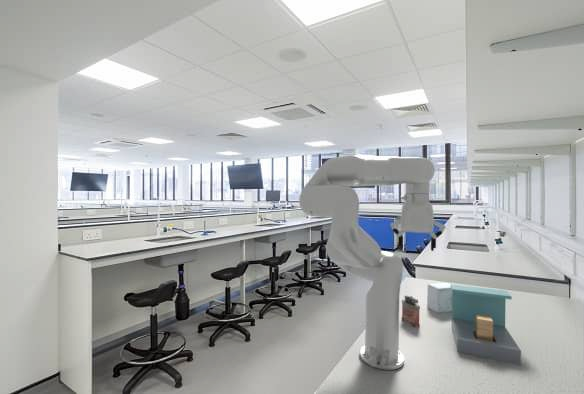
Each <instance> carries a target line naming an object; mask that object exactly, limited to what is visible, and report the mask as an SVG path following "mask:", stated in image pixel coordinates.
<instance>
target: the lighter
mask: <svg viewBox="0 0 584 394" xmlns="http://www.w3.org/2000/svg"><path fill="white" fill-rule="evenodd" d="M401 304H402V305H401V321H402V322H404V323H405V324H407V325H409V326H411V327H413V328H420V327H421V323H420V309H421V306H420V305H419V300H418V299H416V298H414V297H413V295H412V296H411V295H410V296H409V295H406V294H405V295H404V299H402V300H401Z"/></svg>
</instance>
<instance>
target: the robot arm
mask: <svg viewBox="0 0 584 394" xmlns="http://www.w3.org/2000/svg"><path fill="white" fill-rule="evenodd" d="M435 170H436V169H435V165H434V163H433V162H432V160H430V159H428V158H426V157H416V156H415V157H414V156H413V157H411V156H410V157H409V156H405V157H404V156H379V155H377V156H376V155H365V154H363V155H362V154H350V155H343V156H338V157H337V156H336V157H331V158H328V159H327V160H326V161H324V163H322V164H321V165H320V166H319V168H318V169H317V170H316V172H315V173H314V174H313V176H311V178H310V179H309V180H308V181H307V183H306V184H305V185H304V187H303V188H302V190H301V192H300V195H299V200H298V202H299V207H300V209H301V210H302V212H303V213H304V214H306V215H308V216H311V217H318V218H330V219H331V226H330V231H329V237H328V239H327V242H326V246H325V247H326V253H327V256H328V258H329V260H331V262H332V263H333V264H335V265H336V266H338V267H339V268H340V269H342V270H343V271H345V272H346V273H347V274H349V275H351V276H353V277H355V278H359V279H361V280H362V279H363V280H366V281H369V282H372V285H371V287H370V288H369V290H367V292H366V294H365V295H366V296H365V320H364V321H365V324H364V326H365V327H364V328H365V329H364V330H365V331H364V332H365V334H364V338H365V339H364V345H363V346H361V348H360V349H359V357H360V359H361V360H362V361H363V362H364V363H365V364H367V365H369V366H370V367H373V368H375V369H379V370H386V371H391V370H397V369H399V368H401V367H403V366H404V364H405V357H404V356H405V355H404V354H403V353H402V352H401V351H400V349H399V348H400V347H399V346H400V345H399V344H400V343H399V342H400V341H399V340H400V335H399V334H400V294H401V293H400V292H401V284H402V279H403V276H404V263H403V261H402V259H401V258H400V256H398V255H397V254H395V253H393V252H389V251H387V250H386V251H384V250H382V249H381V247H380V245H379V244H378V243H377V241H376V240H375V239H374V238H373V237H372V236H371V235H370V234H369V233H368V232H366V231H365V230H364V229H363V228H362V227H361V226H360V225H359V213H360V199H359V196H358V194H357V192H356V190H355V189H353V187H373V186H374V187H376V186H378V187H379V186H380V187H381V186H395V185H402V184H405V194H403V195H401V196H400V200H404V201H405V202H403V203H402V207H401V213H400V219H397V220H396V221H393V222H390V223H389V226H390V227H391V230H392V231H393V232H394V233H395V235H396V236H397V237H398V238H397V239H398V240H397V242H398V243H397V244H398V245H397V246H399V249H403V248H404V234H405V233H417V234H429V235H430V236H431V238H430V251H432V252H434V250H435V249H436V248H437V238H439V237H440V236H441V235H442V234H443V233H444V231H445V229H446V225H444V224H442V223H441V222H438V221H436V220H434V209H433V204H432V203H430V185H431V183H430V181H431V180H432V179H433V178H434V175H435ZM399 224H400V231H399V229H397V225H399ZM434 226H435V227H438V228H439V229H438V231H436V233H435V232H434Z"/></svg>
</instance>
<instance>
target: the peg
mask: <svg viewBox="0 0 584 394" xmlns="http://www.w3.org/2000/svg"><path fill="white" fill-rule="evenodd" d="M476 339H481V340H487V341H492V342H493V320H492V318H491V316H485V315H478V314H476Z"/></svg>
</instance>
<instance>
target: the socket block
mask: <svg viewBox="0 0 584 394" xmlns="http://www.w3.org/2000/svg"><path fill="white" fill-rule="evenodd" d="M451 290H452V311H451V330H452V335H453V340H454V344H455V349H456V352H458V353H464V354H466V355H467V354H468V355H473V356H476V357H477V356H478V357H482V358H487V359H491V360H492V359H493V360H497V361H502V362H507V363H512V364H517V365H522V364H521V363H522V362H521V361H522V359H521V358H522V350H521V349H520V347H519V346H518V344H517V343H516V341H515V339H514V338H513V337H512V335H511V333H510V331H509V330H508V329H507V327H506V300H512V295H511V294H510V293H509V291H506V290H500V289H492V288H483V287H474V286H465V285H460V284H459V285H457V284H452V285H451ZM476 314H478V315H485V316H491V318H492V320H493V342H492V341H487V340H481V339H476Z"/></svg>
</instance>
